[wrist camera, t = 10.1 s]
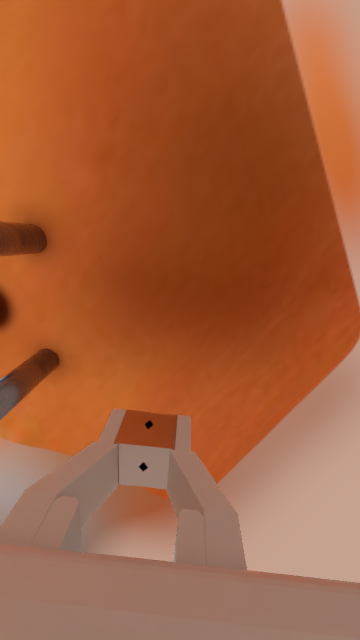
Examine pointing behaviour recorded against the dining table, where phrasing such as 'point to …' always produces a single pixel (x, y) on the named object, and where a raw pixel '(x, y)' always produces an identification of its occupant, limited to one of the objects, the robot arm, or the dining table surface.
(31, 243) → the near post
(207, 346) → the dining table surface
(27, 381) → the far post
